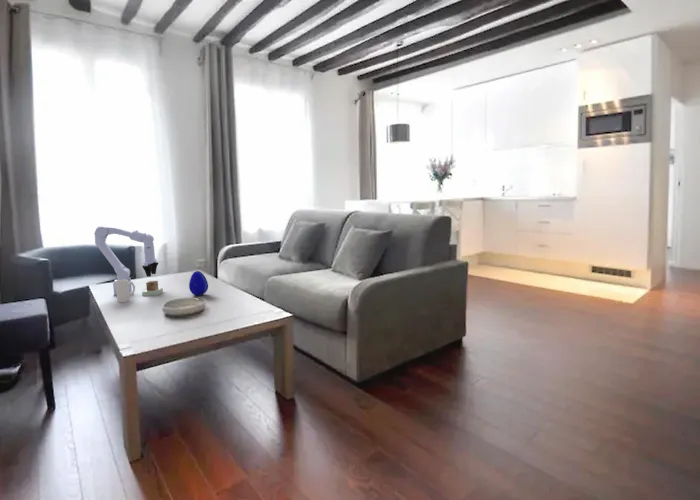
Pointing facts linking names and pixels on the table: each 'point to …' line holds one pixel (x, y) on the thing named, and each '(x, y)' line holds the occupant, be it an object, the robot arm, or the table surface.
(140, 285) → the table surface
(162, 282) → the table surface
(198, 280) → the ornament
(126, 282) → the mug
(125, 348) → the table surface
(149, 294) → the base plate
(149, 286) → the walnut cube
